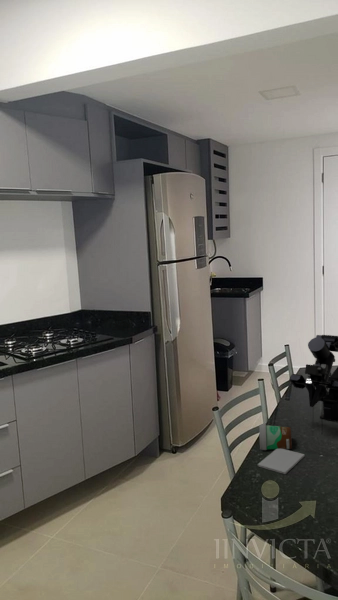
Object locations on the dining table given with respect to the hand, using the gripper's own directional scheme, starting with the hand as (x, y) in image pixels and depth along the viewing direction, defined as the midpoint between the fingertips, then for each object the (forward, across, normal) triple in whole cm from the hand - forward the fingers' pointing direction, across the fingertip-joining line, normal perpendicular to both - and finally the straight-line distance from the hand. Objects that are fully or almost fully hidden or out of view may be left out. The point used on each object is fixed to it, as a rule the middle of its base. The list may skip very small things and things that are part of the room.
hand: (311, 406), depth 158 cm
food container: (+12, -3, -2) cm, 12 cm away
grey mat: (+23, 0, -9) cm, 25 cm away
